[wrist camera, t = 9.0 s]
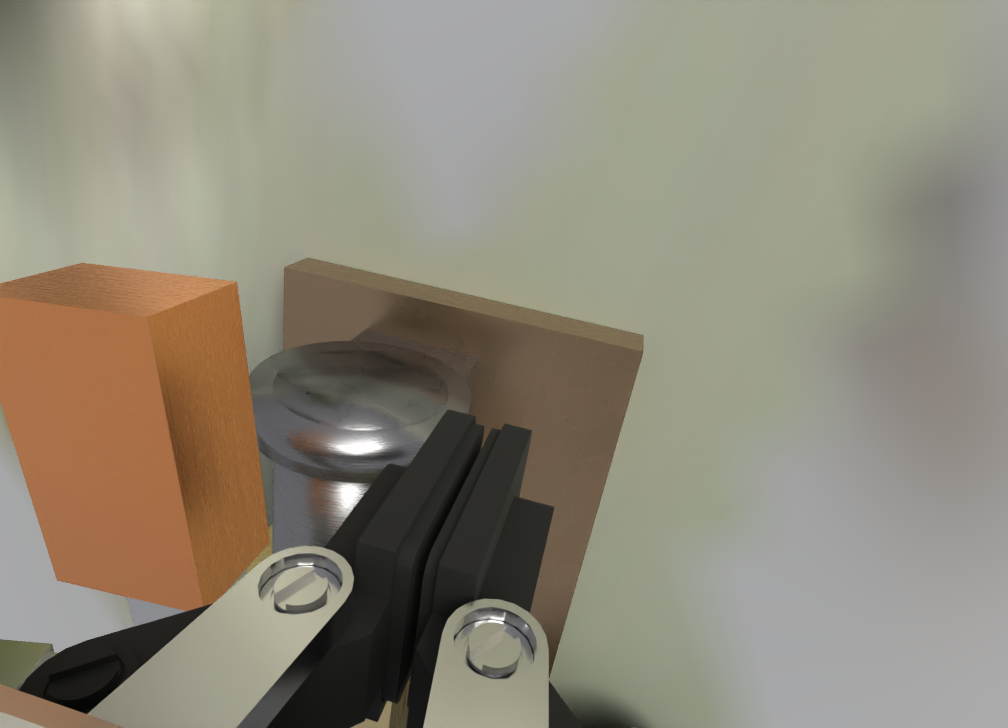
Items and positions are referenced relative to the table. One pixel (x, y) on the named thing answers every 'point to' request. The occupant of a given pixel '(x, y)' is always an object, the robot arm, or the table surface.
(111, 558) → the lever
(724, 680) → the table surface
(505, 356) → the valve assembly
